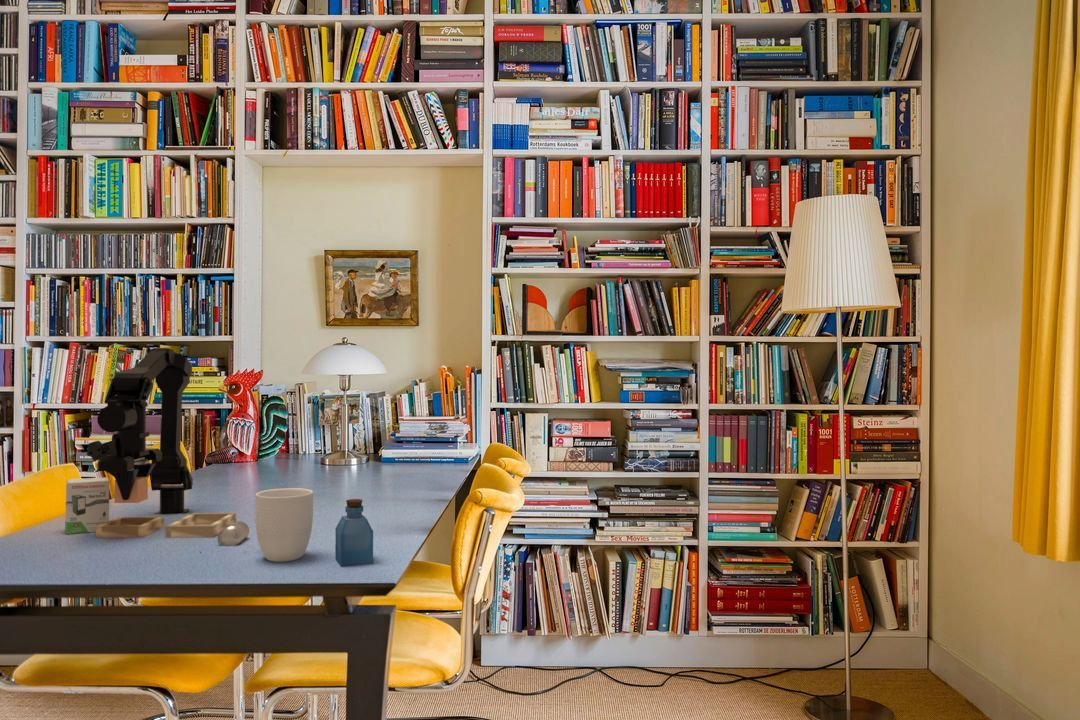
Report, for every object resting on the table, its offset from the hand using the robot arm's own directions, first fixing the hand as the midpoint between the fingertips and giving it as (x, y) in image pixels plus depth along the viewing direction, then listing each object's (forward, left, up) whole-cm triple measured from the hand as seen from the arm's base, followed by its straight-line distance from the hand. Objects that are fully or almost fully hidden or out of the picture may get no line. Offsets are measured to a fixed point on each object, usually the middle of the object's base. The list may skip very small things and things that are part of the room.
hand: (131, 497), depth 177 cm
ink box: (-5, -12, -9) cm, 16 cm away
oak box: (0, 0, -8) cm, 8 cm away
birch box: (-2, +15, -8) cm, 17 cm away
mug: (+21, +39, -9) cm, 45 cm away
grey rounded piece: (+10, +24, -7) cm, 27 cm away
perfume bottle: (+25, +54, -9) cm, 60 cm away
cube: (0, 0, -1) cm, 1 cm away
